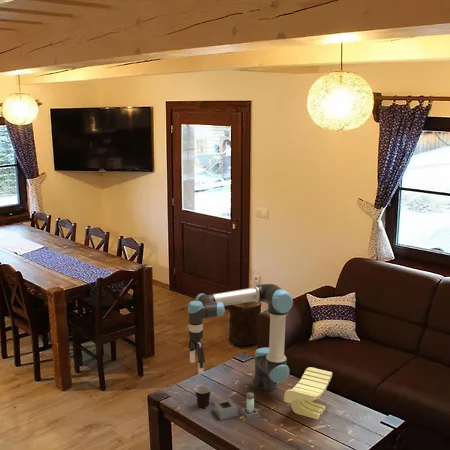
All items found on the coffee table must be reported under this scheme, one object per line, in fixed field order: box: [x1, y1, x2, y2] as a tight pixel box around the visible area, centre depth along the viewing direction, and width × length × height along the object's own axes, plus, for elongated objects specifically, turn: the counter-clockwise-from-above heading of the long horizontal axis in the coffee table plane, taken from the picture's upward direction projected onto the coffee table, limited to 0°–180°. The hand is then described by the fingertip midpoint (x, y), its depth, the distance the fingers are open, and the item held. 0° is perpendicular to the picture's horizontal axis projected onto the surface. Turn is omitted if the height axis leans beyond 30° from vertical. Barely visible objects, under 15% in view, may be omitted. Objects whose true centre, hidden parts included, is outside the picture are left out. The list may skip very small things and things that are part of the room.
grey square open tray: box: [240, 407, 261, 420], centre depth 306 cm, size 8×8×3 cm
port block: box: [212, 398, 239, 421], centre depth 307 cm, size 10×10×6 cm
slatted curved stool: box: [283, 366, 333, 420], centre depth 310 cm, size 30×16×18 cm, turn 150°
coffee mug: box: [194, 385, 211, 410], centre depth 317 cm, size 12×9×10 cm
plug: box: [245, 391, 255, 414], centre depth 305 cm, size 4×4×12 cm
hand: (196, 367), depth 303 cm, fingers open, 13 cm apart
